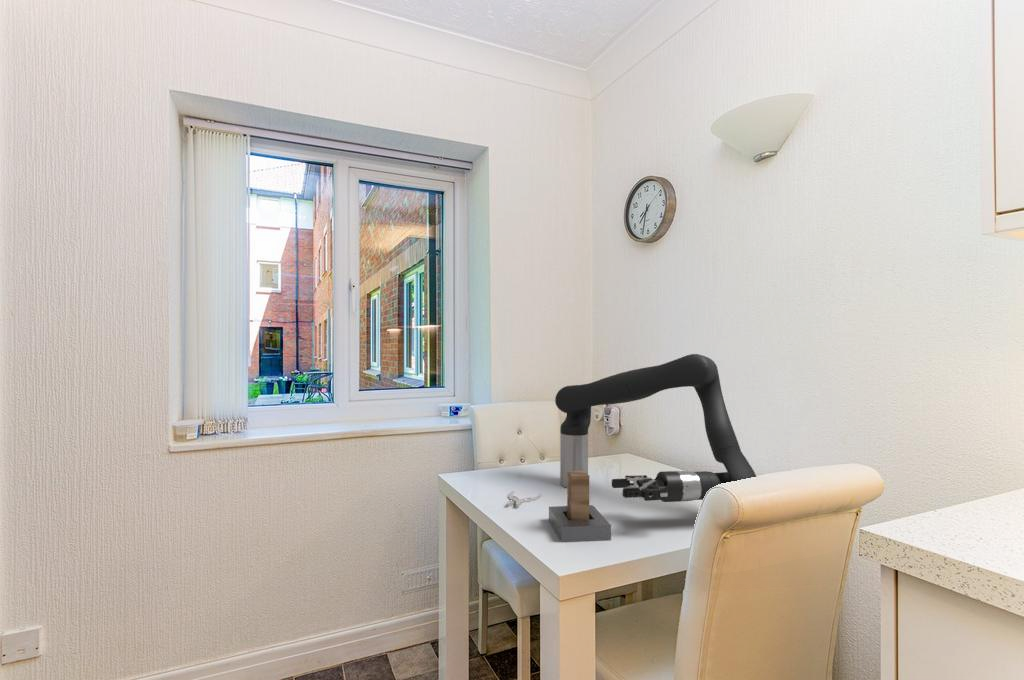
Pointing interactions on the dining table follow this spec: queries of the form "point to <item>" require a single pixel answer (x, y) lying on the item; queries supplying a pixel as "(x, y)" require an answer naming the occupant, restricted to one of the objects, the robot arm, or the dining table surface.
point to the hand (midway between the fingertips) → (617, 488)
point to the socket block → (579, 525)
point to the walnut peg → (577, 495)
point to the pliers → (519, 500)
